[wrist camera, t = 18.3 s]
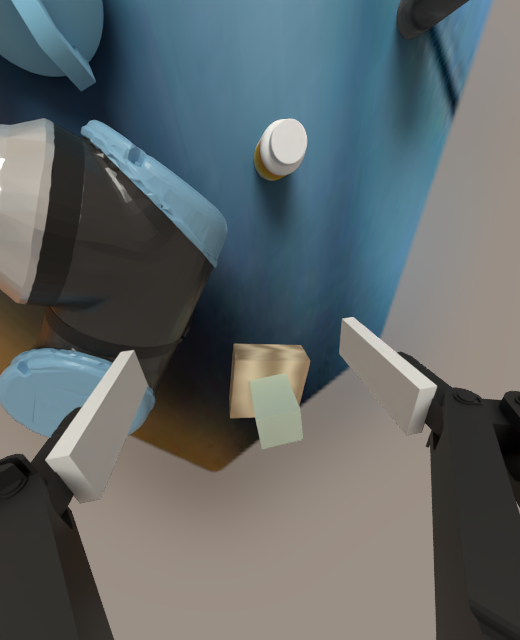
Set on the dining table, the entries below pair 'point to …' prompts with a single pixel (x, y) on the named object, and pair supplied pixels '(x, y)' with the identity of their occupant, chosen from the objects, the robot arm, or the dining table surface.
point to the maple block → (264, 372)
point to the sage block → (276, 411)
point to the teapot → (52, 36)
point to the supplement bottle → (280, 149)
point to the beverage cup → (423, 15)
